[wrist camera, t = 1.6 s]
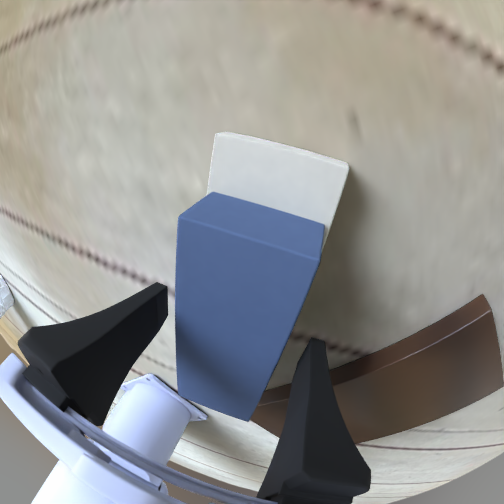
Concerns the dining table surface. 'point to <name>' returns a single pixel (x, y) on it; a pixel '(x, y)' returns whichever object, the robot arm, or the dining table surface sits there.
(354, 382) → the shoe shelf
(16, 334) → the dining table surface
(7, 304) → the white cup
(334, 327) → the dining table surface
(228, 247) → the blue and white eraser
